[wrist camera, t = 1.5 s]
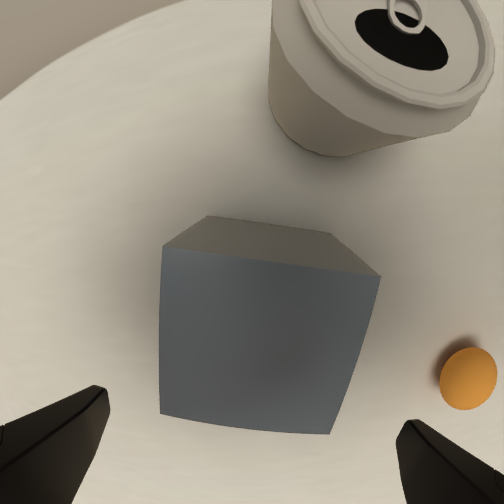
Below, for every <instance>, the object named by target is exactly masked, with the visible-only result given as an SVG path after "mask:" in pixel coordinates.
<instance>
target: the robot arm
mask: <svg viewBox="0 0 504 504" xmlns="http://www.w3.org/2000/svg"><path fill="white" fill-rule="evenodd" d="M109 415H110V404H109V398H108V392H107V390H106V389H105V388H103V387H100V386H97V385H92V386H90V387H88V388H86V389H83V390H81V391H79V392H77V393H75V394H73V395H71V396H68V397H66V398H64V399H62V400H60V401H57V402H55V403H53V404H51V405H48V406H46V407H44V408H42V409H39V410H37V411H35V412H32V413H30V414H28V415H25V416H23V417H21V418H18V419H16V420H14V421H11V422H9V423H6V424H5V425H1V426H0V504H72V501H73V499H74V497H75V495H76V493H77V491H78V489H79V487H80V485H81V483H82V481H83V479H84V476H85V474H86V472H87V470H88V468H89V466H90V464H91V462H92V460H93V458H94V456H95V454H96V451H97V449H98V446H99V443H100V440H101V437H102V434H103V432H104V429H105V426H106V423H107V421H108V418H109ZM396 449H397V455H398V462H399V469H400V476H401V482H402V486H403V490H404V494H405V498H406V502H407V504H504V475H503V474H502V473H500V472H499V471H497V470H494V468H492V467H490V466H489V465H487V464H486V463H484V462H483V461H481V460H480V459H478V458H476V457H475V456H473V455H472V454H470V453H469V452H467V451H466V450H464V449H463V448H461V447H459V446H458V445H456V444H455V443H453V442H452V441H450V440H449V439H447V438H446V437H444V436H443V435H441V434H440V433H438V432H437V431H435V430H434V429H433V428H431V427H430V426H428V425H427V424H425V423H424V422H422V421H421V420H419V419H413V420H407V421H406V422H405V424H404V425H403V427H402V429H401V431H400V433H399V435H398V436H397V439H396Z"/></svg>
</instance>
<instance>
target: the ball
mask: <svg viewBox="0 0 504 504" xmlns="http://www.w3.org/2000/svg"><path fill="white" fill-rule="evenodd" d="M496 381H497V367H496V364H495V361H494V360H493V358H492V356H491V355H490V354H489V353H488V352H486V351H485V350H483V349H480V348H476V347H469V348H464V349H462V350H459V351H458V352H456V353H455V354H453V355H452V356H451V357H450V358H449V359H448V360H447V362H446V363H445V365H444V367H443V369H442V371H441V375H440V380H439V386H440V391H441V394H442V397H443V398H444V400H445V401H446V402H447V403H448V404H449V405H450V406H452V407H453V408H456V409H459V410H469V409H473V408H476V407H478V406H479V405H481V404H482V403H484V402H485V401H486V400H487V399H488V398H489V396H490V395H491V393H492V392H493V390H494V388H495V385H496Z"/></svg>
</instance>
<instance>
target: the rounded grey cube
mask: <svg viewBox="0 0 504 504" xmlns="http://www.w3.org/2000/svg"><path fill="white" fill-rule="evenodd" d="M380 278H381V276H380V275H378V274H377V273H376V272H375V271H374V270H373V269H372V268H371V267H369V266H368V265H367V264H366V263H365V262H364V261H362V260H361V259H360V258H359V257H358V256H357V255H356V254H354V253H353V252H352V251H351V250H350V249H349V248H347V247H346V246H345V245H344V244H343V243H341V242H340V241H339V240H338V239H337V238H335V237H334V236H333V235H332V234H331V233H325V232H318V231H312V230H305V229H299V228H292V227H285V226H278V225H272V224H265V223H258V222H250V221H243V220H236V219H229V218H221V217H213V216H206V217H205V218H203V219H202V220H200V221H199V222H197V223H196V224H194V225H193V226H191V227H190V228H188V229H187V230H186V231H184V232H183V233H181V234H180V235H178V236H177V237H175V238H174V239H172V240H171V241H169V242H168V243H166V244H165V245H164V246H163V250H162V265H161V284H160V311H159V394H160V414H163V415H168V416H172V417H177V418H182V419H187V420H192V421H198V422H203V423H209V424H215V425H222V426H229V427H236V428H244V429H252V430H262V431H273V432H285V433H302V434H330V432H331V430H332V427H333V425H334V422H335V420H336V417H337V415H338V412H339V410H340V407H341V404H342V402H343V399H344V396H345V394H346V391H347V388H348V385H349V383H350V380H351V377H352V374H353V371H354V368H355V365H356V362H357V359H358V356H359V353H360V350H361V347H362V344H363V340H364V337H365V334H366V330H367V327H368V324H369V320H370V317H371V313H372V309H373V306H374V302H375V298H376V294H377V290H378V286H379V282H380Z"/></svg>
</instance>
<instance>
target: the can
mask: <svg viewBox="0 0 504 504" xmlns="http://www.w3.org/2000/svg"><path fill="white" fill-rule="evenodd" d="M494 62H495V47H494V42H493V38H492V34H491V30H490V27H489V23H488V21H487V19H486V17H485V15H484V13H483V11H482V10H481V8H480V6H479V4H478V2H477V1H476V0H272V16H271V38H270V60H269V82H268V87H269V104H270V106H271V109H272V112H273V115H274V118H275V120H276V121H277V123H278V124H279V125H280V127H281V128H282V129H283V131H284V132H285V133H286V135H287V136H288V137H290V138H291V139H292V140H294V141H295V142H296V143H298V144H299V145H301V146H302V147H303V148H305V149H307V150H310V151H313V152H316V153H319V154H321V155H324V156H342V157H344V156H348V155H352V154H355V153H359V152H363V151H367V150H371V149H375V148H379V147H383V146H387V145H391V144H396V143H400V142H404V141H408V140H413V139H417V138H422V137H426V136H431V135H435V134H440V133H445V132H449V131H450V130H452V129H453V128H455V127H456V126H457V125H459V124H460V123H461V122H463V121H464V120H465V119H467V118H468V117H469V116H470V115H471V113H472V111H473V109H474V108H475V106H476V104H477V102H478V100H479V98H480V96H481V95H482V93H484V91H485V89H486V87H487V85H488V83H489V81H490V79H491V77H492V75H493V73H494Z"/></svg>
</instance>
